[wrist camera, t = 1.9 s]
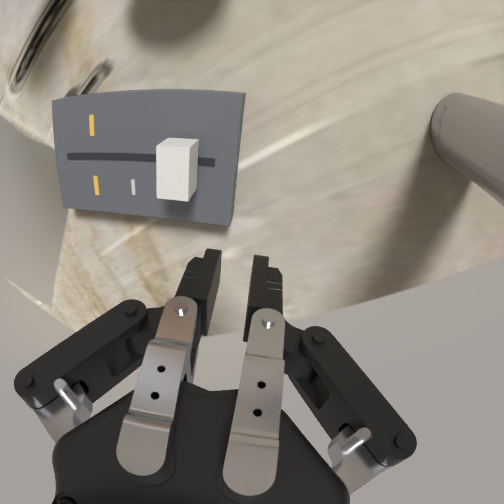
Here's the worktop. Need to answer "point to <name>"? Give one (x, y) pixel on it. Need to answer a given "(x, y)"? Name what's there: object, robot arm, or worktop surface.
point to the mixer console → (147, 150)
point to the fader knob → (177, 168)
